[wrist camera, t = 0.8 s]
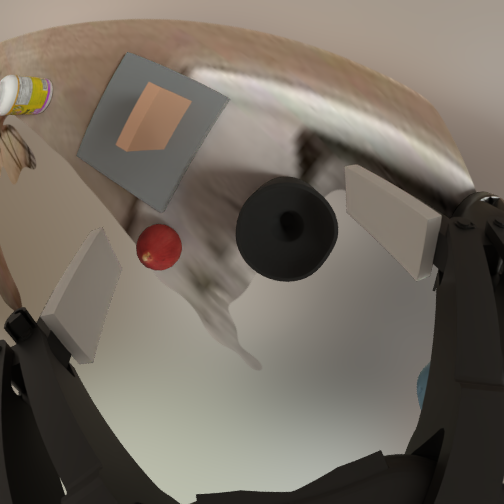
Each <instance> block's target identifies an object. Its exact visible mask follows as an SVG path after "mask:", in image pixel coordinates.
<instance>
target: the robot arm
mask: <svg viewBox="0 0 504 504" xmlns="http://www.w3.org/2000/svg"><path fill="white" fill-rule="evenodd" d="M345 183H346V203H347V213H348V214H349V215H350V216H351V217H352V218H353V219H354V220H355V221H357V222H358V223H359V224H360V225H361V226H362V227H363V228H364V229H365V230H366V231H367V232H369V234H370V235H371V236H372V237H373V238H374V239H376V240H377V241H378V242H379V243H380V244H381V245H382V246H383V247H384V248H385V249H386V250H387V251H388V252H389V253H390V254H391V255H392V256H393V257H394V258H395V259H396V260H397V261H398V262H399V264H401V266H402V267H403V268H404V269H405V270H406V271H407V272H408V273H409V274H410V275H411V276H412V277H413V278H414V279H415V281H416V282H417V281H419V280H422V279H424V278H427V277H429V276H430V274H431V270H432V265H433V264H434V265H435V266H436V267H437V268H438V273H437V277H436V281H435V284H434V288H433V291H435V290H436V314H435V327H434V338H433V347H432V355H431V361H430V362H429V363H428V364H427V365H426V366H425V367H424V368H423V370H422V371H421V372H420V375H419V377H418V380H417V395H418V401H419V405H420V409H421V414H420V418H419V421H418V425H417V427H416V430H415V432H414V433H413V435H412V437H411V439H410V442H409V444H408V447H407V449H406V452H405V454H395V455H387V456H383V454H382V451H381V450H380V451H378V452H375V453H373V454H371V455H368V456H366V457H364V458H361V459H359V460H356V461H354V462H351V463H348V464H345V465H343V466H340V467H337V468H336V469H334V470H332V471H331V472H329V473H327V474H326V475H324V476H322V477H320V478H318V479H317V480H315V481H313V482H311V483H309V484H308V485H305V486H303V487H302V488H299V489H297V490H295V491H292V492H257V491H242V490H240V491H232V492H222V493H211V494H197V495H196V498H197V501H196V502H193V503H191V504H504V200H503V199H502V198H501V197H499V196H497V195H494V194H491V193H488V192H477V193H474V194H472V195H470V196H469V197H467V198H466V199H465V200H464V201H463V202H462V203H461V204H460V205H459V206H458V207H457V209H456V210H455V212H454V214H453V215H452V217H451V218H450V219H449V218H448V217H446V216H445V215H444V214H442V213H441V212H439V211H438V210H436V209H435V208H432V206H430V205H429V204H426V202H424V201H422V200H421V199H419V198H417V197H414V196H411V195H410V194H408V193H406V192H405V191H403V190H402V189H400V188H398V187H397V186H395V185H393V184H391V183H390V182H388V181H386V180H385V179H383V178H381V177H379V176H377V175H376V174H374V173H372V172H370V171H368V170H366V169H365V168H363V167H361V166H359V165H357V164H356V165H350V166H345ZM121 271H122V267H121V265H120V263H119V261H118V259H117V257H116V255H115V253H114V251H113V249H112V247H111V244H110V242H109V240H108V238H107V236H106V234H105V231H104V229H103V227H101V228H98V229H95V230H92V231H91V232H90V234H89V235H88V236H87V238H86V239H85V241H84V242H83V244H82V246H81V247H80V248H79V250H78V252H77V253H76V254H75V256H74V258H73V259H72V261H71V263H70V264H69V266H68V267H67V269H66V270H65V272H64V274H63V276H62V277H61V279H60V281H59V282H58V284H57V286H56V288H55V289H54V291H53V292H52V294H51V296H50V298H49V300H48V302H47V303H46V306H45V307H44V309H43V311H42V313H41V315H40V317H39V319H38V321H37V323H36V322H35V321H34V319H33V318H32V317H31V315H30V314H29V313H28V311H27V310H26V308H25V307H21V308H19V309H17V310H16V311H14V312H13V313H12V314H11V315H10V316H9V318H8V319H7V321H6V323H5V326H4V329H5V330H6V331H7V332H8V334H9V335H10V336H11V337H12V338H13V340H14V341H15V342H16V345H14V346H12V347H10V346H9V345H8V344H7V343H6V341H5V340H0V504H180V503H179V502H177V501H176V500H175V499H173V498H172V497H170V496H169V495H167V494H166V493H164V492H163V491H161V490H160V489H159V488H158V487H157V486H156V485H155V484H154V483H153V482H152V480H151V479H150V478H149V477H148V476H147V475H146V474H145V473H144V471H143V470H142V469H141V468H140V467H139V466H138V464H137V463H136V462H135V461H134V459H133V458H132V457H131V456H130V454H129V453H128V452H127V451H126V449H125V448H124V447H123V445H122V444H121V443H120V441H119V440H118V439H117V437H116V436H115V434H114V433H113V431H112V430H111V429H110V427H109V426H108V424H107V423H106V421H105V420H104V418H103V417H102V415H101V414H100V412H99V410H98V409H97V407H96V406H95V404H94V403H93V401H92V399H91V397H90V396H89V394H88V392H87V391H86V389H85V387H84V385H83V383H82V382H81V380H80V378H79V376H78V374H77V372H76V370H75V368H74V367H73V366H72V365H71V364H70V363H69V361H70V357H71V355H72V356H73V358H74V359H75V360H76V361H77V362H78V363H79V364H87V363H93V362H94V358H95V354H96V350H97V346H98V342H99V339H100V335H101V332H102V328H103V325H104V322H105V318H106V315H107V312H108V309H109V306H110V303H111V300H112V297H113V293H114V291H115V288H116V285H117V282H118V279H119V276H120V273H121ZM436 288H437V289H436ZM11 384H12V385H13V386H14V387H15V388H16V389H17V390H18V391H19V395H17V394H16V393H15V392H14V391H13V388H12V387H11V386H12V385H11ZM60 479H61V481H62V482H63V484H64V486H65V488H66V491H67V495H65V493H64V490H63V487H62V484H61V481H60Z"/></svg>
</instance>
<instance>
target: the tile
mask: <svg viewBox="0 0 504 504" xmlns="http://www.w3.org/2000/svg"><path fill="white" fill-rule="evenodd" d="M191 102H192V101H190V100H189V99H187V98H185V97H183V96H181V95H178V94H176V93H174V92H172V91H170V90H167V89H165V88H163V87H160V86H158V85H156V84H153V83H151V82H148V84H147V85H146V87H145V89H144V91H143V92H142V94H141V96H140V98H139V99H138V101H137V103H136V105H135V107H134V108H133V110H132V112H131V114H130V116H129V118H128V120H127V122H126V124H125V126H124V128H123V130H122V132H121V134H120V136H119V138H118V141H117V143H116V145H117V146H118V147H120V148H122V149H123V150H125V151H126V152H129V151H143V150H161V149H164V148H165V147H166V145H167V143H168V141H169V139H170V138H171V136H172V134H173V132H174V131H175V129H176V127H177V125H178V124H179V122H180V120H181V119H182V117H183V115H184V114H185V112H186V110H187V109H188V107H189V105H190V104H191Z"/></svg>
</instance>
